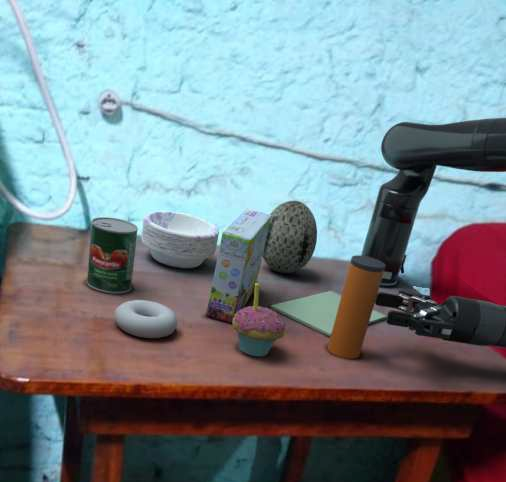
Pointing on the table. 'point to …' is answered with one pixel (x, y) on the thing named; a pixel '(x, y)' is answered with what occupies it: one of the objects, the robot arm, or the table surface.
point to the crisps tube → (356, 306)
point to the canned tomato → (111, 255)
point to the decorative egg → (290, 237)
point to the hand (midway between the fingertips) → (381, 307)
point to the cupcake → (257, 327)
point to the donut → (145, 319)
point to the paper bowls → (179, 238)
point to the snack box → (238, 264)
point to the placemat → (317, 311)
